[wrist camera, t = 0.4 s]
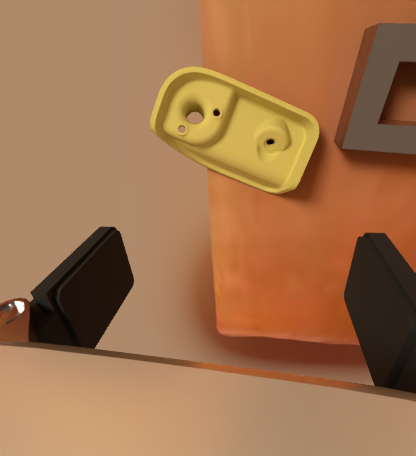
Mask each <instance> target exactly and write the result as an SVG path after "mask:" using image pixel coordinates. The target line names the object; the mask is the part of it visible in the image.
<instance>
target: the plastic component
mask: <svg viewBox="0 0 416 456" xmlns="http://www.w3.org/2000/svg"><path fill="white" fill-rule="evenodd" d="M215 110H218V111H219V112H220V115H219V116H214V114H213V111H215ZM191 112H199V113H200V114H201V115H202V116H203V118H204V119H203V121H202V122H201V123H199V124H192V123H190V122H189V121H188V120H187V116H188V115H189V114H190V113H191ZM181 126H183V127H185V129H186V131H185V132H184V133H180V132H179V131H178V129H179V127H181ZM150 128H151V130H152V131H153V132H154V133H155V134H156V135H157V136H158V137H159V138H160V139H161V140H163V141H164V142H165V143H167V144H168V145H170V146H171V147H172V148H174V149H175V150H177V151H178V152H180V153H182V154H183V155H185V156H186V157H188V158H190V159H192V160H193V161H195V162H197V163H199V164H201V165H203V166H205V167H207V168H209V169H211V170H214V171H216V172H218V173H220V174H223V175H225V176H228V177H230V178H233V179H235V180H238V181H240V182H242V183H245V184H247V185H250V186H252V187H255V188H257V189H260V190H262V191H265V192H269V193H273V194H282V193H285V192H288V191H291V190H294V189H295V188H296V187H297V185H298V184H299V182H300V180H301V177H302V175H303V173H304V170H305V168H306V166H307V163H308V161H309V159H310V156H311V154H312V152H313V150H314V147H315V145H316V143H317V140H318V137H319V126H318V123H317V121H316V119H315V118H314V117H313V116H312V115H311V114H310V113H308V112H305V111H303V110H301V109H299V108H296V107H294V106H292V105H290V104H288V103H285V102H283V101H281V100H279V99H277V98H274V97H272V96H270V95H268V94H266V93H263V92H261V91H259V90H257V89H255V88H252V87H250V86H248V85H246V84H244V83H241V82H239V81H237V80H235V79H232V78H230V77H228V76H225V75H223V74H221V73H218V72H216V71H213V70H210V69H206V68H202V67H186V68H183V69H180V70H178V71H176V72H174V73H173V74H172V75H170V76H169V77H168V78H167V80H166V81H165V82H164V84H163V86H162V87H161V89H160V92H159V95H158V97H157V100H156V103H155V107H154V110H153V113H152V116H151V119H150ZM269 139H273V140H274V141H275V143H274V144H268V143H267V140H269Z"/></svg>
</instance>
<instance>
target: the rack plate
mask: <svg viewBox="0 0 416 456" xmlns="http://www.w3.org/2000/svg"><path fill="white" fill-rule="evenodd" d="M399 63H416V24H393V23H378V24H376V25H374V26H372V27H369V28H367V29H365V32H364V36H363V39H362V43H361V46H360V50H359V54H358V57H357V61H356V64H355V68H354V72H353V75H352V79H351V82H350V86H349V90H348V93H347V97H346V100H345V104H344V107H343V111H342V115H341V118H340V122H339V125H338V129H337V133H336V136H335V140H334V142H335V143H336V144H337V145H338V146H339V147H340V148H341V149H352V150H365V151H378V152H391V153H404V154H416V122H411V121H395V120H379V118H380V116H381V113H382V110H383V107H384V104H385V101H386V98H387V96H388V93H389V90H390V87H391V84H392V81H393V78H394V76H395V73H396V70H397V67H398V64H399Z"/></svg>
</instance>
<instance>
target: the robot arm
mask: <svg viewBox="0 0 416 456" xmlns="http://www.w3.org/2000/svg"><path fill="white" fill-rule="evenodd" d="M133 284H134V278H133V274H132V271H131V268H130V264H129V261H128V257H127V254H126V251H125V247H124V244H123V240H122V237H121V234H120V232H119V231H118V230H116V228H115V227H100V228H98V229H97V230H96V231H95V232H94V233H93V234H92V235H91V236H90V237H89V238H88V239H87V240H86V241H85V242H83V243H82V244H81V245H80V246H79V247H78V248H77V249H76V250H75V251H74V252H73V253H72V254H71V255H70V256H69V257H67V259H65V260H64V261H63V262H62V263H61V264H60V265H59V266H58V267H57V268H56V269H55V270H54V271H53V272H52V273H51V274H49V275H48V276H47V277H46V278H45V279H44V280H43V281H42V282H41V283H40V284H39V285H38V286H37V287H36V288H35V289H34V290H33V291H31V294H32V296H33V298H34V299H33V300H32V301H31V302H29V301H28V300H27V299H25V298H14V299H11V300H7V301H5V302H3V303H0V456H416V273H415V272H414V271H413V270H412V268H411V267H410V266H409V265H408V263H407V262H406V261H405V259H404V258H403V257H402V255H401V254H400V253H399V251H398V250H397V249H396V247H395V246H394V245H393V243H392V242H391V241H390V239H389V238H388V237H387V235H386V234H385V233H365V234H364V235H363V237H358V239H357V243H356V247H355V251H354V255H353V259H352V263H351V267H350V271H349V275H348V280H347V284H346V288H345V292H344V299H345V303H346V306H347V309H348V312H349V315H350V317H351V320H352V323H353V326H354V329H355V332H356V334H357V337H358V340H359V343H360V346H361V348H362V351H363V354H364V357H365V360H366V363H367V365H368V368H369V371H370V374H371V377H372V380H373V382H374V385H375V386H371V385H364V384H358V383H351V382H344V381H337V380H331V379H323V378H317V377H310V376H301V375H294V374H287V373H278V372H272V371H264V370H257V369H249V368H242V367H234V366H226V365H219V364H211V363H203V362H195V361H188V360H180V359H172V358H164V357H156V356H148V355H140V354H132V353H124V352H116V351H107V350H99V349H95V347H96V345H97V344H98V342H99V340H100V339H101V337H102V336H103V334H104V332H105V331H106V329H107V327H108V326H109V324H110V323H111V321H112V319H113V317H114V316H115V314H116V313H117V311H118V309H119V308H120V306H121V305H122V303H123V301H124V300H125V298H126V296H127V295H128V293H129V291H130V290H131V288H132V287H133Z"/></svg>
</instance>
